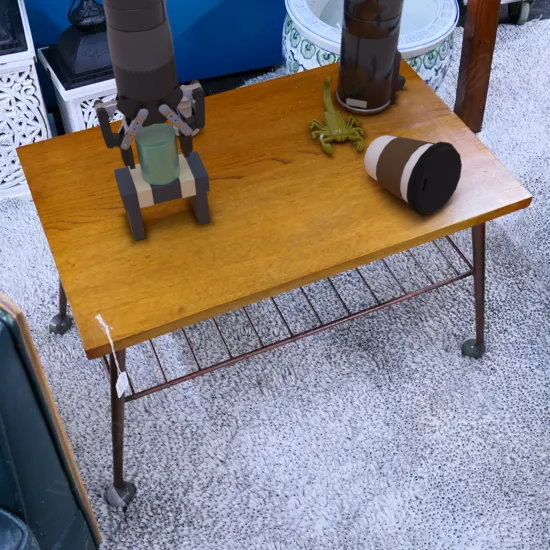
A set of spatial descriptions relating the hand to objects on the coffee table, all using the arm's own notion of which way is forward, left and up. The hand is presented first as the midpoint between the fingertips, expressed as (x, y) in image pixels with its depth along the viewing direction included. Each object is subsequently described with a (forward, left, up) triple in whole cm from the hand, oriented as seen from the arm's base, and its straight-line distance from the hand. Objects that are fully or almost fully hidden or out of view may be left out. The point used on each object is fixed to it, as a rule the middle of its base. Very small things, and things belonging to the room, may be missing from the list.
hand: (158, 159), depth 102 cm
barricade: (0, 0, -11) cm, 11 cm away
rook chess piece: (-8, -19, -11) cm, 24 cm away
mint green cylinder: (0, 0, -2) cm, 2 cm away
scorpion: (-31, -11, -11) cm, 35 cm away
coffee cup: (-33, +1, -8) cm, 34 cm away
